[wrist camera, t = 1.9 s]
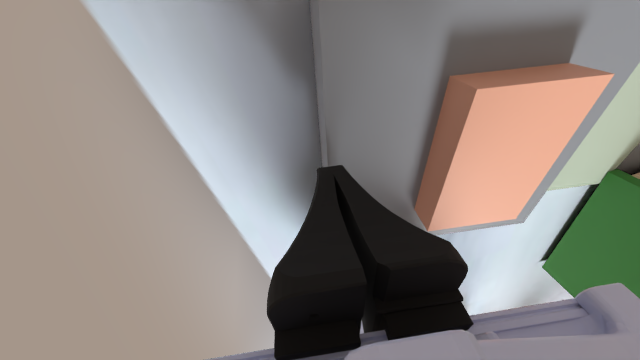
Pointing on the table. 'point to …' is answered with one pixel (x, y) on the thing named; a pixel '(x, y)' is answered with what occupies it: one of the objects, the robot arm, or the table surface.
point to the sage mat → (606, 139)
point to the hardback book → (602, 239)
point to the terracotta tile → (501, 140)
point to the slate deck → (446, 76)
